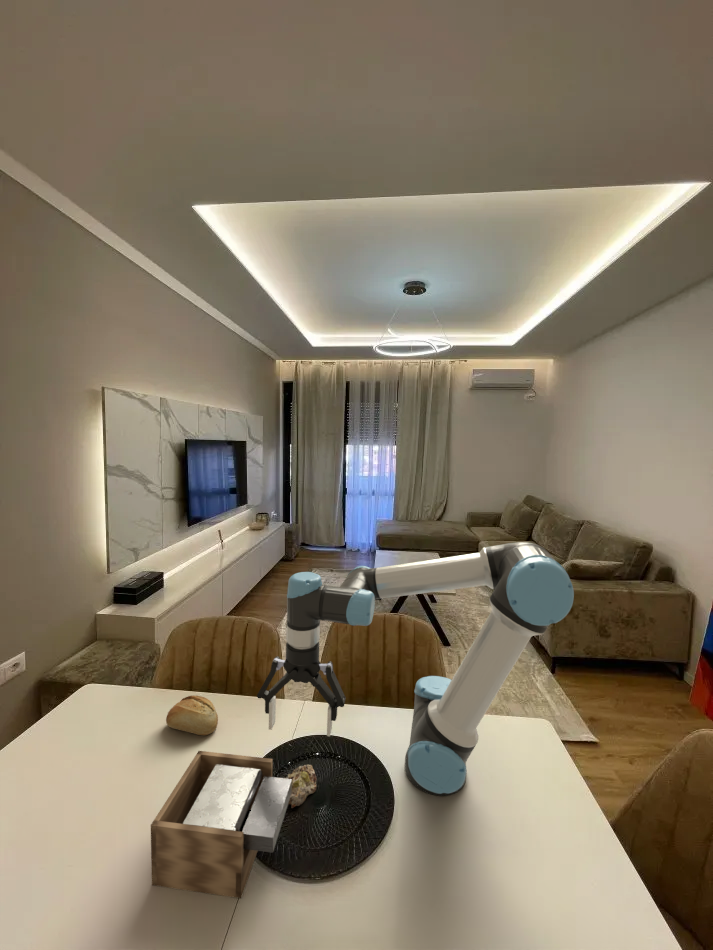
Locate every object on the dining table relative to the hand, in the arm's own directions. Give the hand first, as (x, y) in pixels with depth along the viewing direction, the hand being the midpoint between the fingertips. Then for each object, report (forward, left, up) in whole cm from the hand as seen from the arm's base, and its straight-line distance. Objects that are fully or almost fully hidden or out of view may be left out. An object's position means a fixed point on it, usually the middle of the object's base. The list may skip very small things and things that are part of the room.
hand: (300, 729), depth 96 cm
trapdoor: (+8, +15, -8) cm, 19 cm away
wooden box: (+13, +15, -15) cm, 25 cm away
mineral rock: (0, 0, -16) cm, 16 cm away
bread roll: (+35, -16, -15) cm, 41 cm away
